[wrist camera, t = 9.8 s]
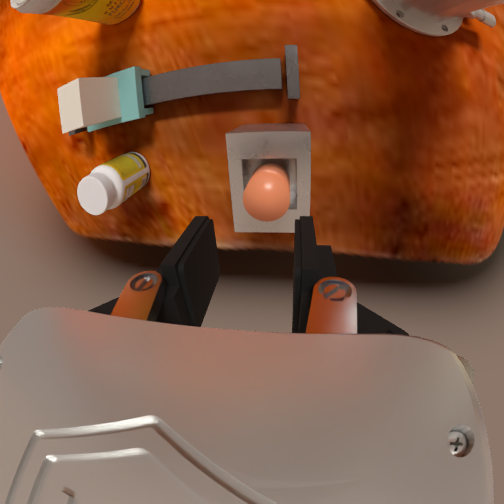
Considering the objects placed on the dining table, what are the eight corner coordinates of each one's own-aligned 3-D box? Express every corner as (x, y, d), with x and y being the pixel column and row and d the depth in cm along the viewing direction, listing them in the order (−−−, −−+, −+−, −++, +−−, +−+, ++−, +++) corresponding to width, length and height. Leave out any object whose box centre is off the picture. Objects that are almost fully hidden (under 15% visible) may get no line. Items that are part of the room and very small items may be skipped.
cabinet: (304, 123, 24) (310, 131, 17) (304, 200, 28) (308, 235, 21) (243, 124, 25) (225, 133, 18) (248, 199, 29) (234, 234, 22)
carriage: (149, 68, 22) (96, 63, 14) (153, 115, 25) (102, 127, 17) (99, 84, 23) (43, 90, 15) (104, 127, 26) (50, 144, 18)
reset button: (289, 162, 19) (289, 177, 16) (290, 200, 21) (290, 221, 17) (249, 163, 20) (240, 177, 16) (252, 200, 21) (244, 221, 18)
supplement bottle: (115, 153, 28) (69, 175, 21) (147, 148, 27) (104, 168, 20) (121, 190, 30) (81, 219, 23) (153, 188, 30) (115, 218, 23)
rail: (295, 52, 20) (296, 44, 17) (298, 99, 23) (299, 98, 20) (83, 93, 24) (64, 96, 21) (88, 130, 26) (69, 135, 23)
